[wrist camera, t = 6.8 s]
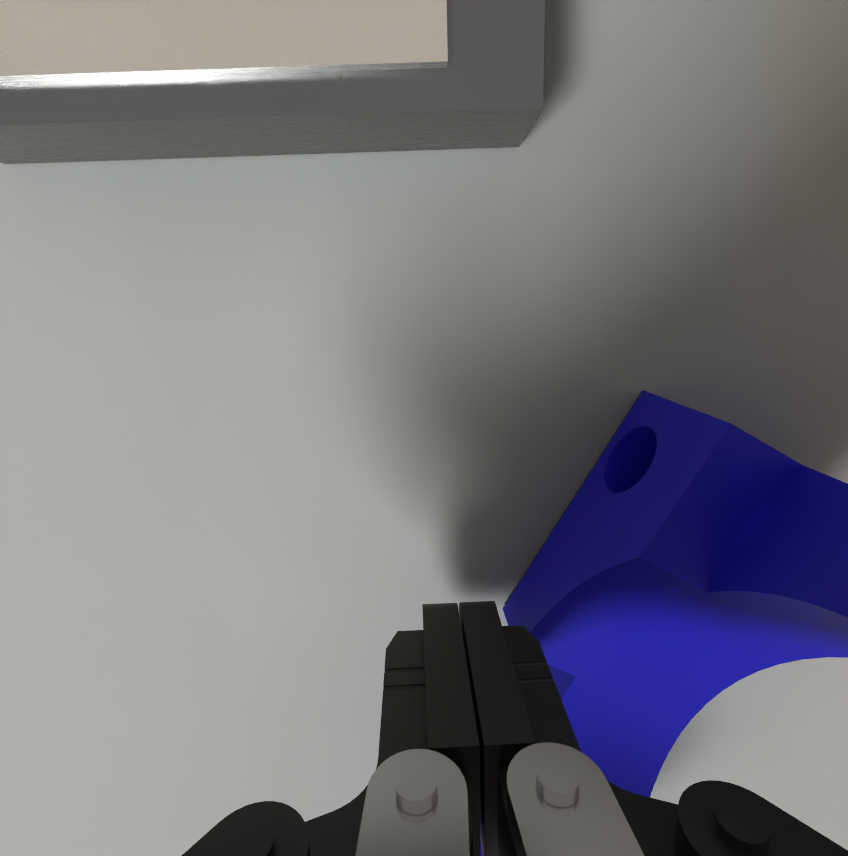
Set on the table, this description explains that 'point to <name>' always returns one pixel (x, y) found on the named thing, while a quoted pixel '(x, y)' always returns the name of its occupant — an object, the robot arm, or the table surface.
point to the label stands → (265, 77)
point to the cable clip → (681, 581)
